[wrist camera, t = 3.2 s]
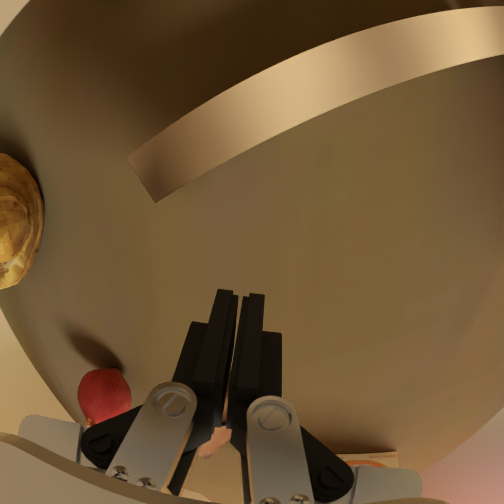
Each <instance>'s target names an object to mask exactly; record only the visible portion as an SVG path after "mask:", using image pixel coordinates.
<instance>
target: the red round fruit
mask: <svg viewBox="0 0 504 504" xmlns="http://www.w3.org/2000/svg"><path fill="white" fill-rule="evenodd" d="M78 401H79V405H80V408H81V410H82V412H83V414H84V415H85V417H86V426H87V427H91V426H92V425H95V424H97V423H100V422H102V421H105V420H107V419H110V418H112V417H115V416H117V415H120V414H122V413H124V412H127V411H129V409H130V407H131V402H132V398H131V392H130V388H129V386H128V384H127V382H126V381H125V379H124V378H123V376H122V373H121V372H120V370H118V369H116V368H108V369H96V370H92V371H90V372H88V373H87V374H86V375H85V376H84V377H83V378H82V380H81V382H80V385H79V387H78Z"/></svg>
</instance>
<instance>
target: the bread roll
mask: <svg viewBox="0 0 504 504" xmlns="http://www.w3.org/2000/svg"><path fill="white" fill-rule="evenodd" d="M43 227H44V205H43V200H42V198H41V195H40V191H39V188H38V185H37V183H36V181H35V180H34V179H33V177H32V176H31V174H30V172H29V171H28V170H27V169H26V168H25V167H24V166H22V165H21V164H20V163H19V162H18V161H16V160H14V159H13V158H11V157H10V156H9V155H7V154H3V153H0V289H3V288H7V287H10V286H12V285H16V284H17V283H18V282H19V281H20V280H21V279H22V278H23V277H24V276H25V275H26V273H27V272H28V271H29V269H30V268H31V266H32V265H33V263H34V260H35V257H36V255H37V252H38V250H39V247H40V243H41V238H42V232H43Z"/></svg>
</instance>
